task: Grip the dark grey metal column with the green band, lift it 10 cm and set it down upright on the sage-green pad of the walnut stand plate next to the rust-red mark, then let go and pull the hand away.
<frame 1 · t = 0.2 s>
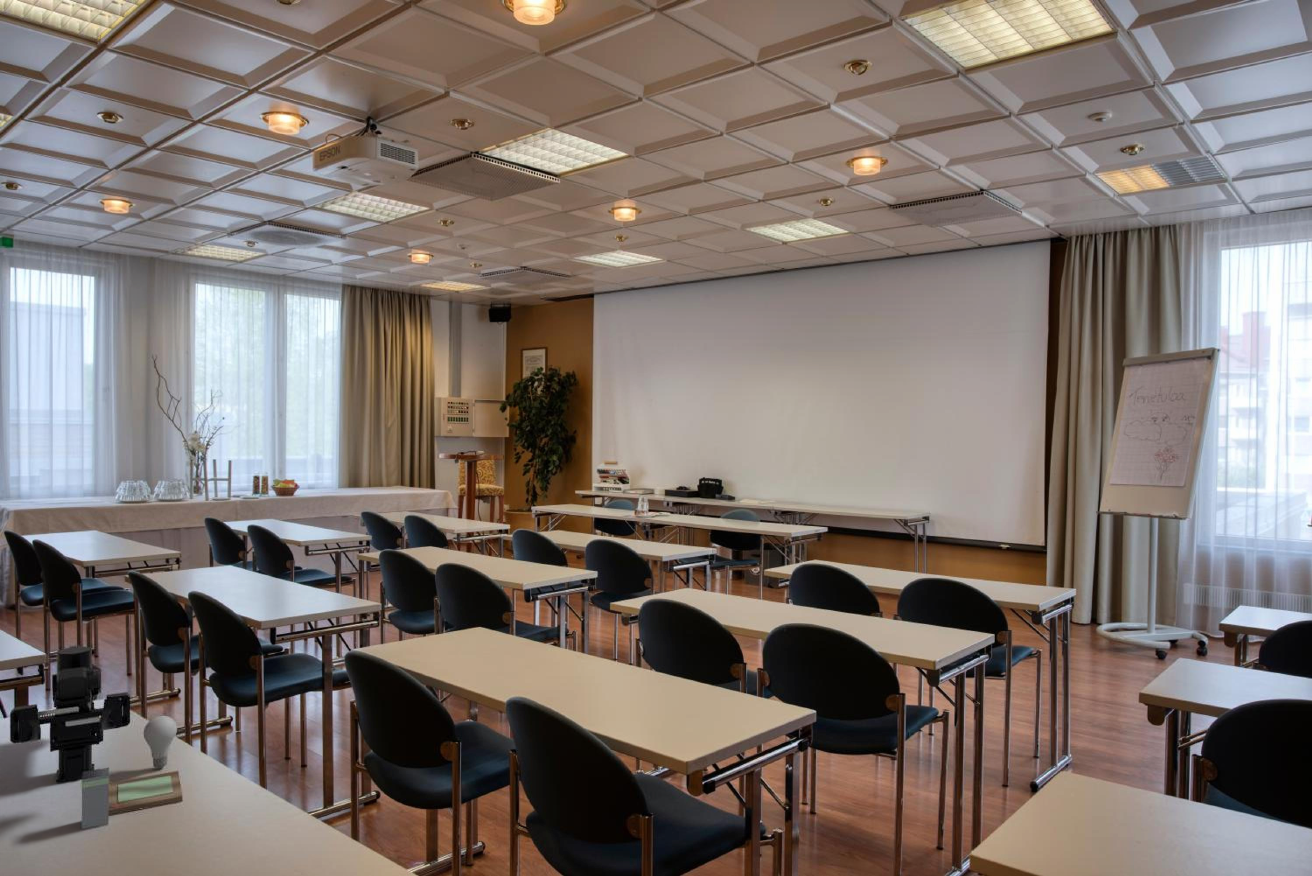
hand: (70, 732, 155), 17 cm above the table, tool horizontal, fingers open, 9 cm apart
lightbulb: (160, 769, 180), on the table
stand plate: (145, 794, 168), on the table
column: (95, 822, 156), on the table
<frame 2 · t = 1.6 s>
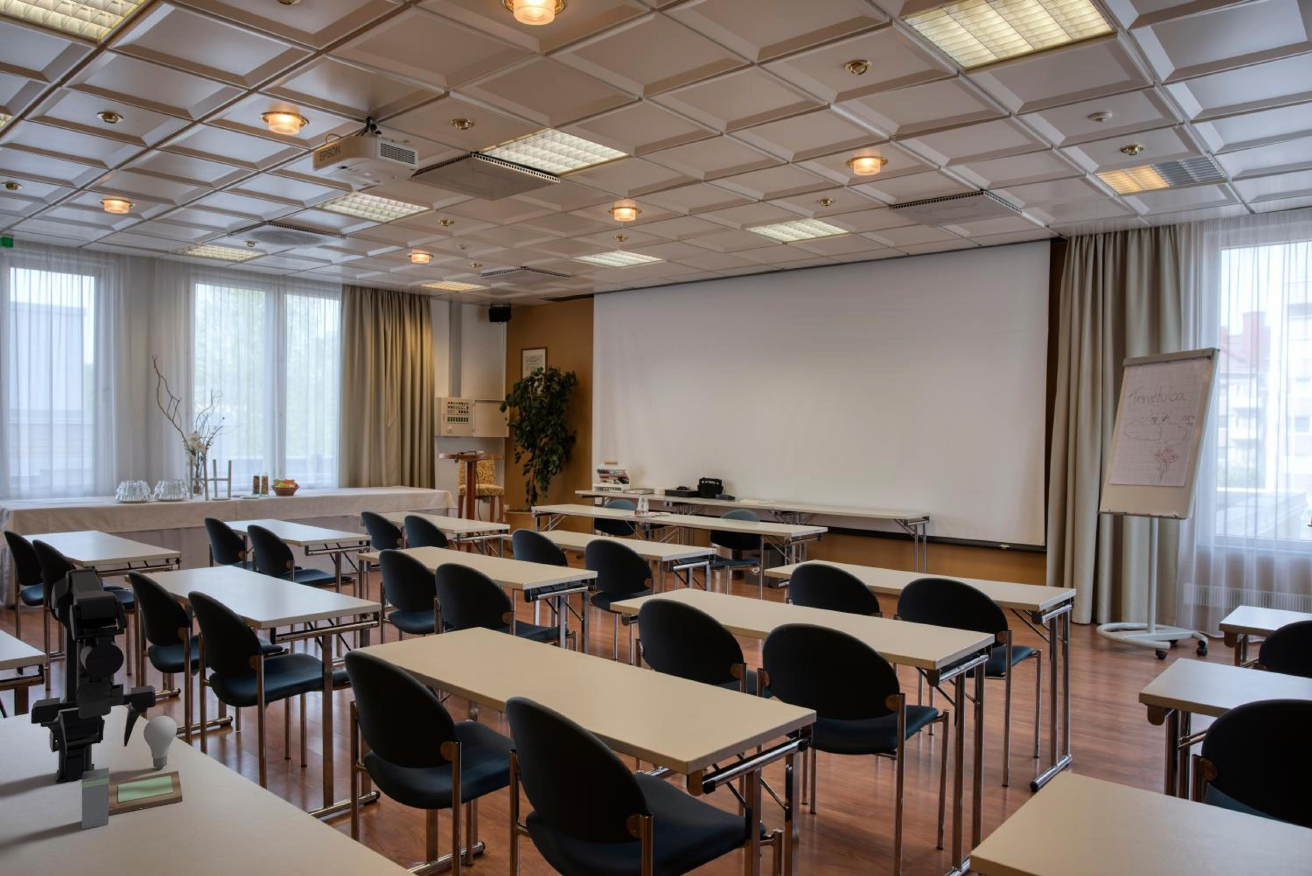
hand: (95, 751, 155), 13 cm above the table, tool pointing down, fingers open, 9 cm apart
nothing on the table moved.
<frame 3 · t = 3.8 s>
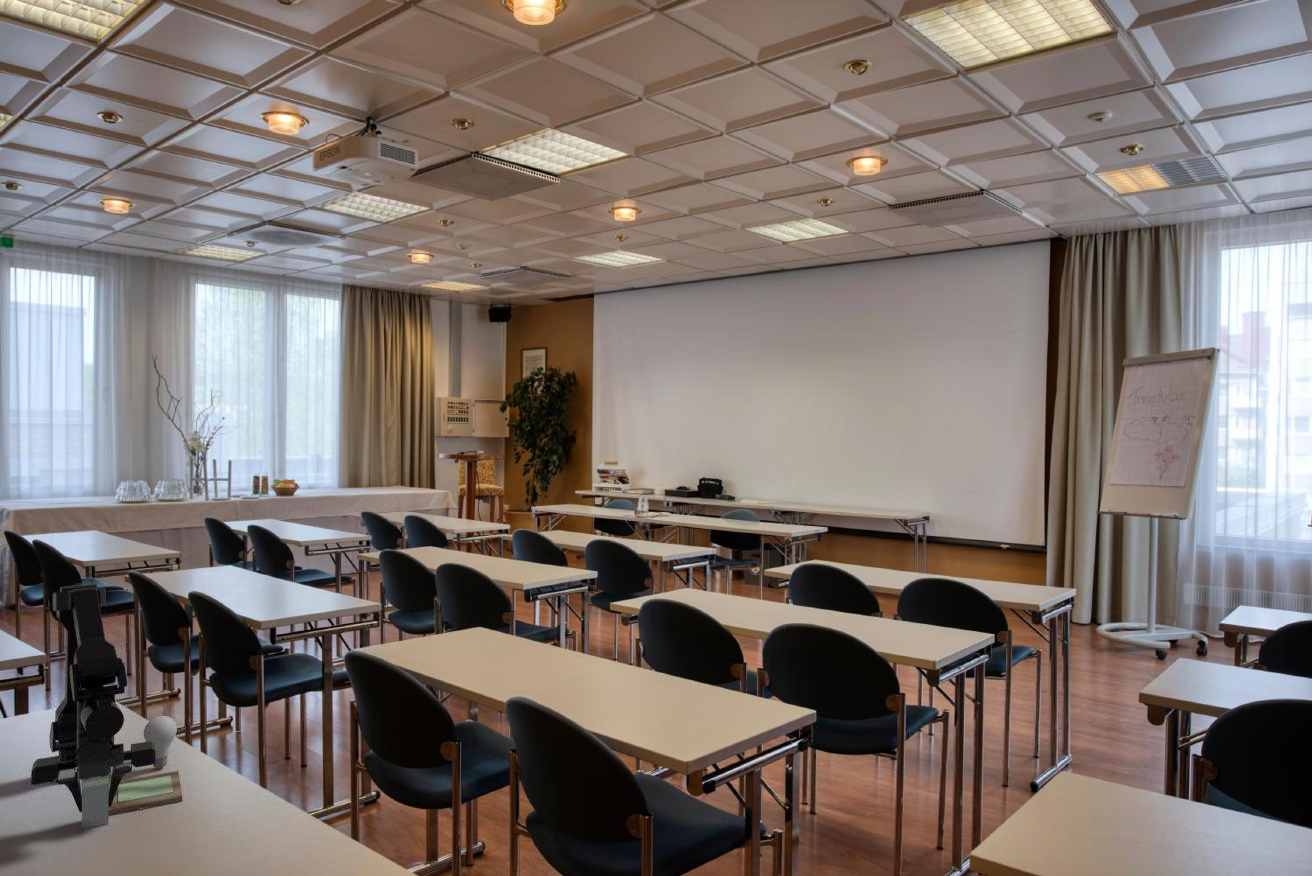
hand: (95, 808, 156), 3 cm above the table, tool pointing down, fingers closed on column, 4 cm apart
column: (95, 822, 156), on the table, touching gripper
everything else where it was.
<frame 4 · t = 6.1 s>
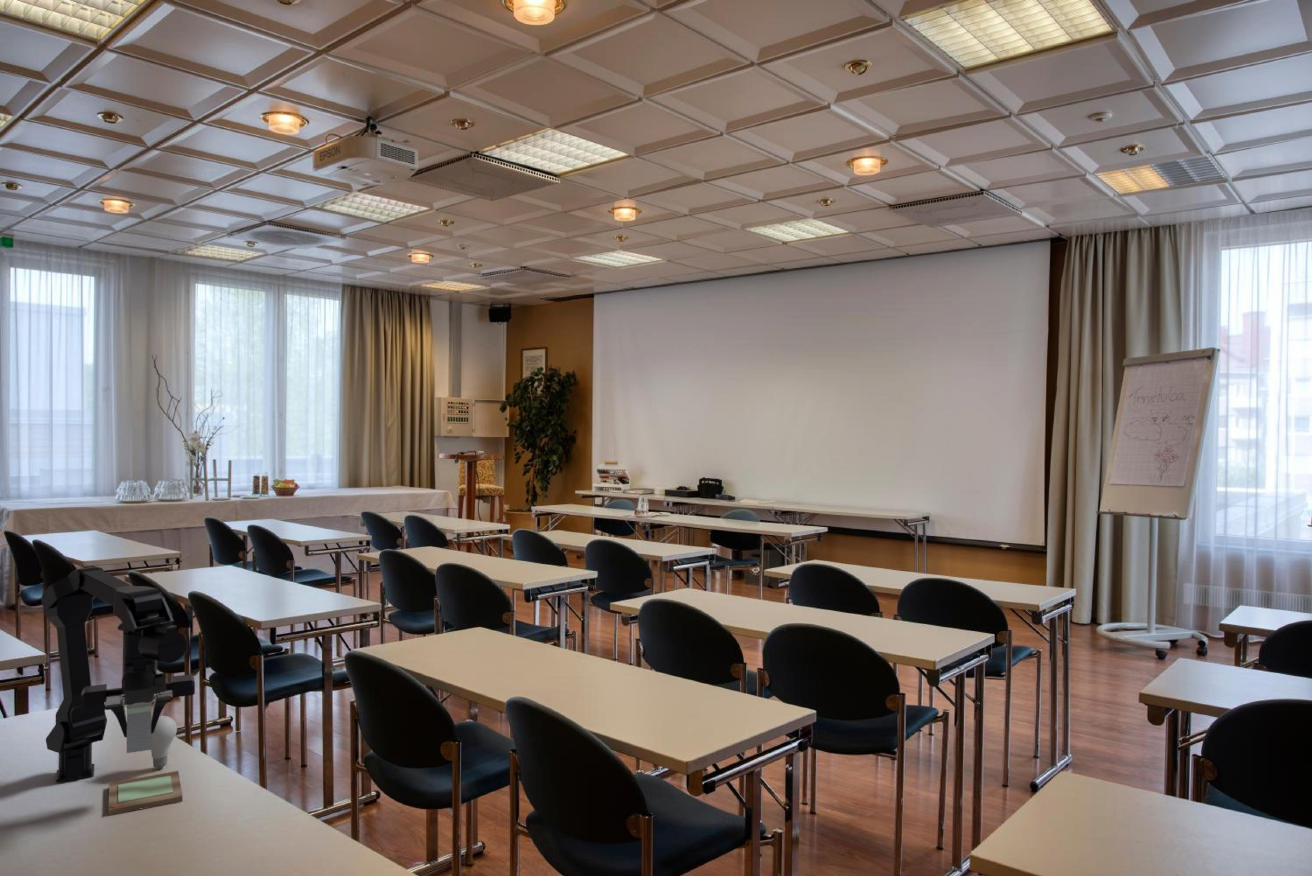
hand: (139, 734, 166), 12 cm above the table, tool pointing down, fingers closed on column, 4 cm apart
column: (138, 748, 166), point 10 cm above the table, touching gripper
everything else where it was.
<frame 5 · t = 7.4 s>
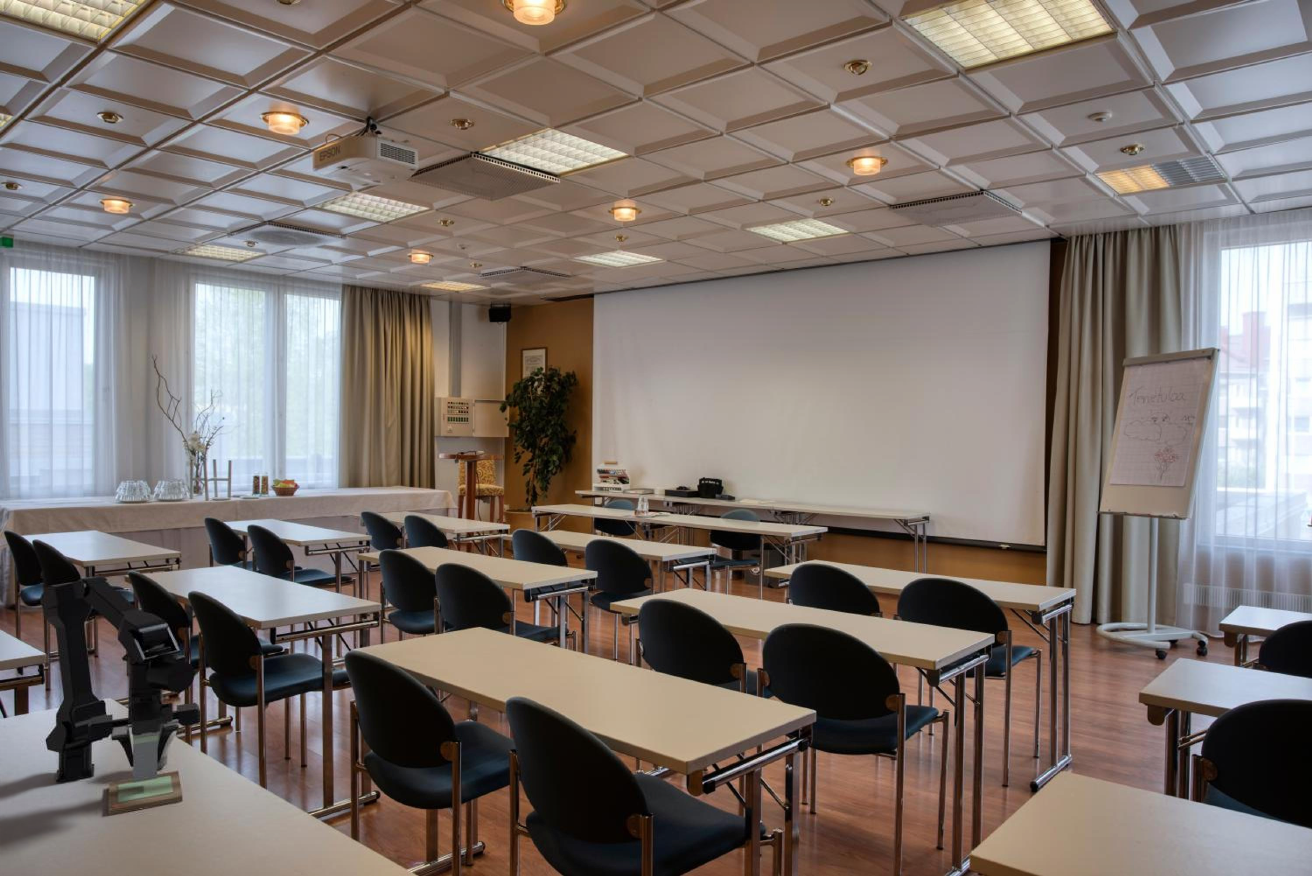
hand: (145, 764, 167), 6 cm above the table, tool pointing down, fingers closed on column, 4 cm apart
column: (145, 777, 167), point 3 cm above the table, touching gripper
everything else where it was.
when the fingers open (5 cm above the table, at t = 8.4 s): column stays where it is, resting on stand plate.
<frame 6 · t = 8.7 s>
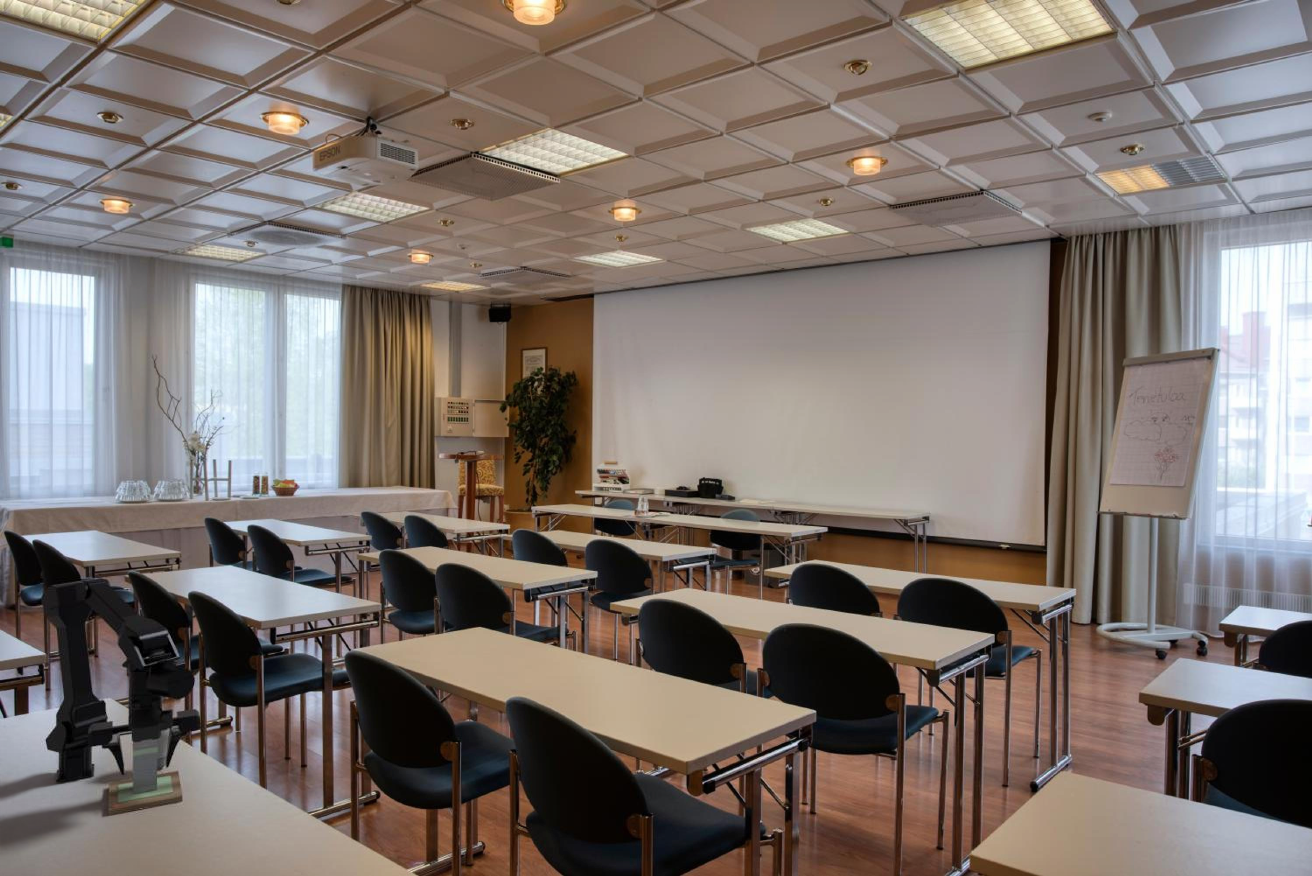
hand: (145, 770, 167), 5 cm above the table, tool pointing down, fingers open, 7 cm apart
column: (144, 788, 167), point 1 cm above the table, touching stand plate
everything else where it was.
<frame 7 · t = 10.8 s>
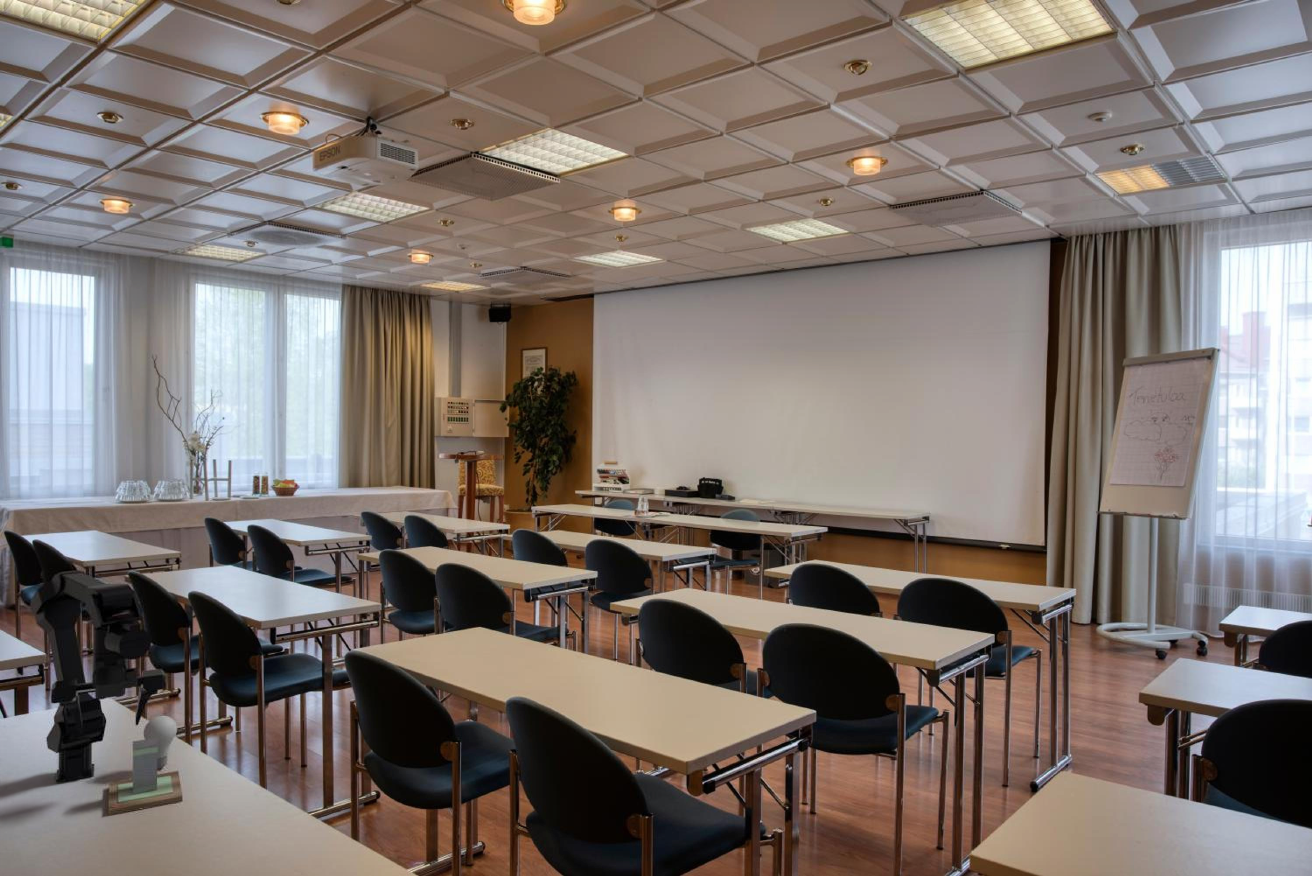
hand: (109, 728, 168), 13 cm above the table, tool pointing down, fingers open, 9 cm apart
nothing on the table moved.
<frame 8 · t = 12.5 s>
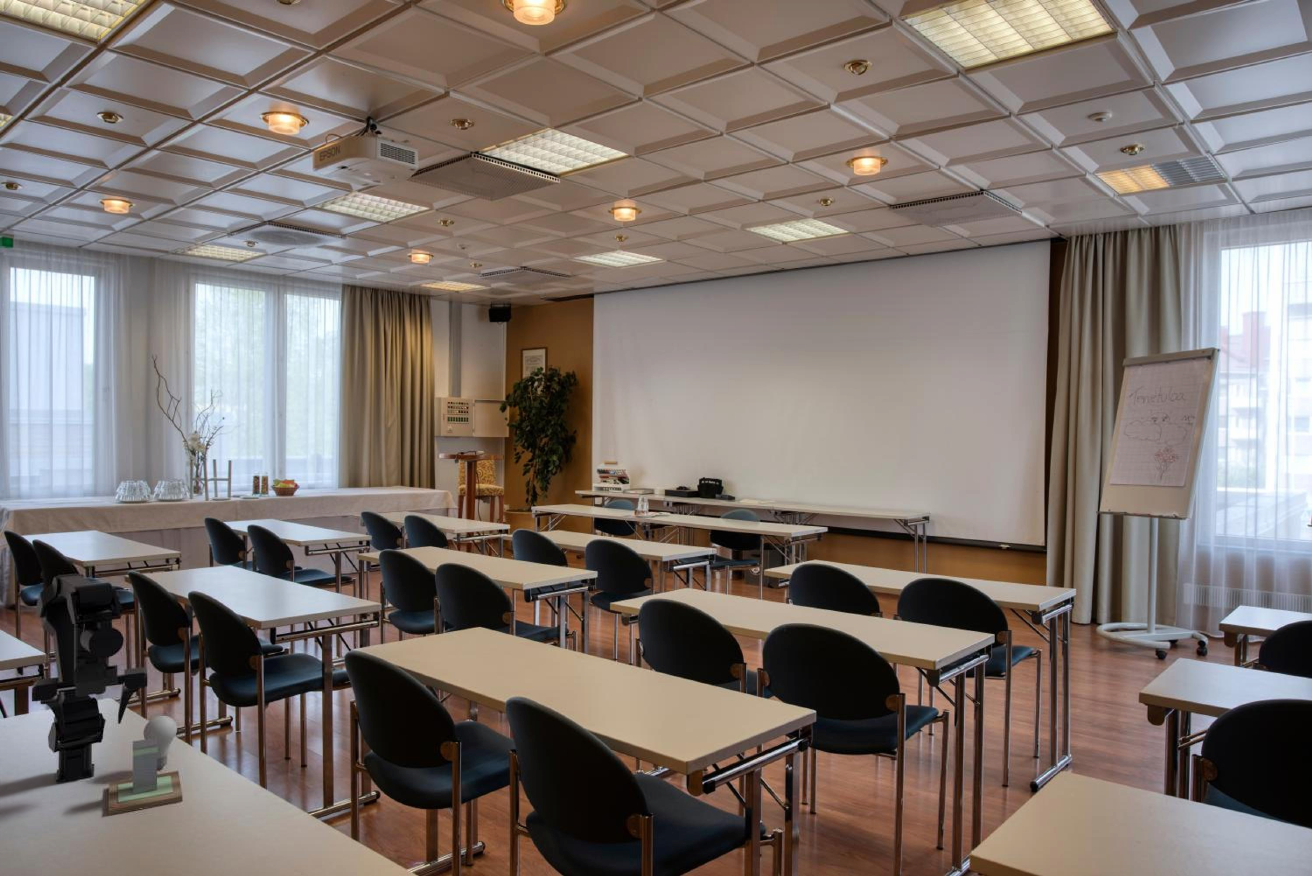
hand: (91, 727, 168), 13 cm above the table, tool pointing down, fingers open, 9 cm apart
nothing on the table moved.
at the end: column 0.1 cm off-centre on the stand plate, point 1.2 cm above the stand plate's base; column tilted 0°; the gripper is holding nothing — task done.
